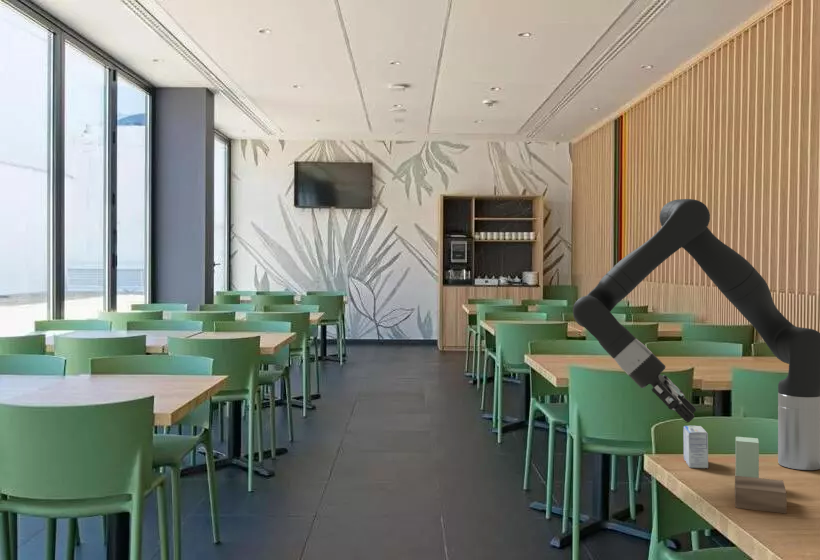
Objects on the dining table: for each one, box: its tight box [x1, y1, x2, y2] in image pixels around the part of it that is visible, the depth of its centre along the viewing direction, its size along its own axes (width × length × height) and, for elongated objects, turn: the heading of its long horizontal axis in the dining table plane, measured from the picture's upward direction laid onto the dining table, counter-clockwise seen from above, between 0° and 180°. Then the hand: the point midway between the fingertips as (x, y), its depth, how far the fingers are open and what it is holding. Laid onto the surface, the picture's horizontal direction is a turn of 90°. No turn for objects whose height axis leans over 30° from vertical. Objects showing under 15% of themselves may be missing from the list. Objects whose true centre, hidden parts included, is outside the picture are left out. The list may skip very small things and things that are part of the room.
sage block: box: [735, 436, 760, 478], centre depth 158 cm, size 4×4×10 cm
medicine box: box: [682, 425, 709, 469], centre depth 176 cm, size 8×4×9 cm, turn 168°
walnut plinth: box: [734, 475, 787, 514], centre depth 146 cm, size 9×9×4 cm
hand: (692, 416), depth 163 cm, fingers open, 8 cm apart
